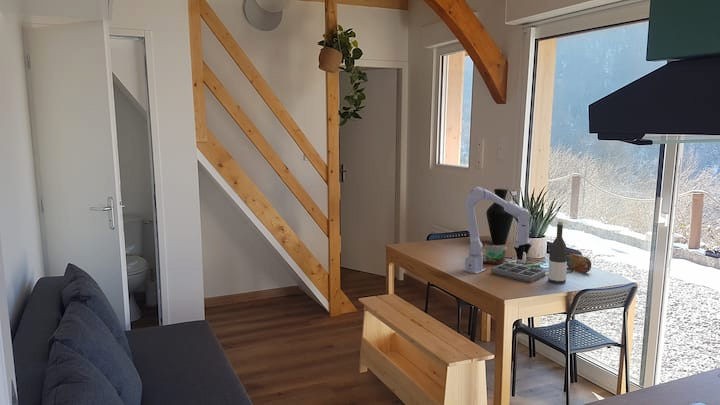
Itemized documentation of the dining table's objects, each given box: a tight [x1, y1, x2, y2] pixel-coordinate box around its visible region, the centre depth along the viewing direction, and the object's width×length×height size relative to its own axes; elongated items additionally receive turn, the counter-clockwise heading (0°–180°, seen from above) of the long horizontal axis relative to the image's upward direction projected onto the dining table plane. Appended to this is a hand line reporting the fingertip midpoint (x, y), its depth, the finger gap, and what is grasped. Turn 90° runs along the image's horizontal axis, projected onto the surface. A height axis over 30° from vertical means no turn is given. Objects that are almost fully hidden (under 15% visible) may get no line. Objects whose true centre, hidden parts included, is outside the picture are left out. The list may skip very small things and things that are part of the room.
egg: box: [517, 252, 527, 264], centre depth 261 cm, size 4×4×6 cm
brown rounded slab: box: [567, 253, 592, 274], centre depth 266 cm, size 15×3×8 cm, turn 23°
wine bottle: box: [547, 220, 568, 285], centre depth 246 cm, size 8×8×30 cm
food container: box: [484, 244, 508, 265], centre depth 281 cm, size 12×6×10 cm, turn 62°
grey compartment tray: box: [490, 262, 546, 284], centre depth 259 cm, size 15×22×3 cm
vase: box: [485, 188, 515, 246], centre depth 325 cm, size 17×17×35 cm
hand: (521, 258), depth 261 cm, fingers closed on egg, 4 cm apart
